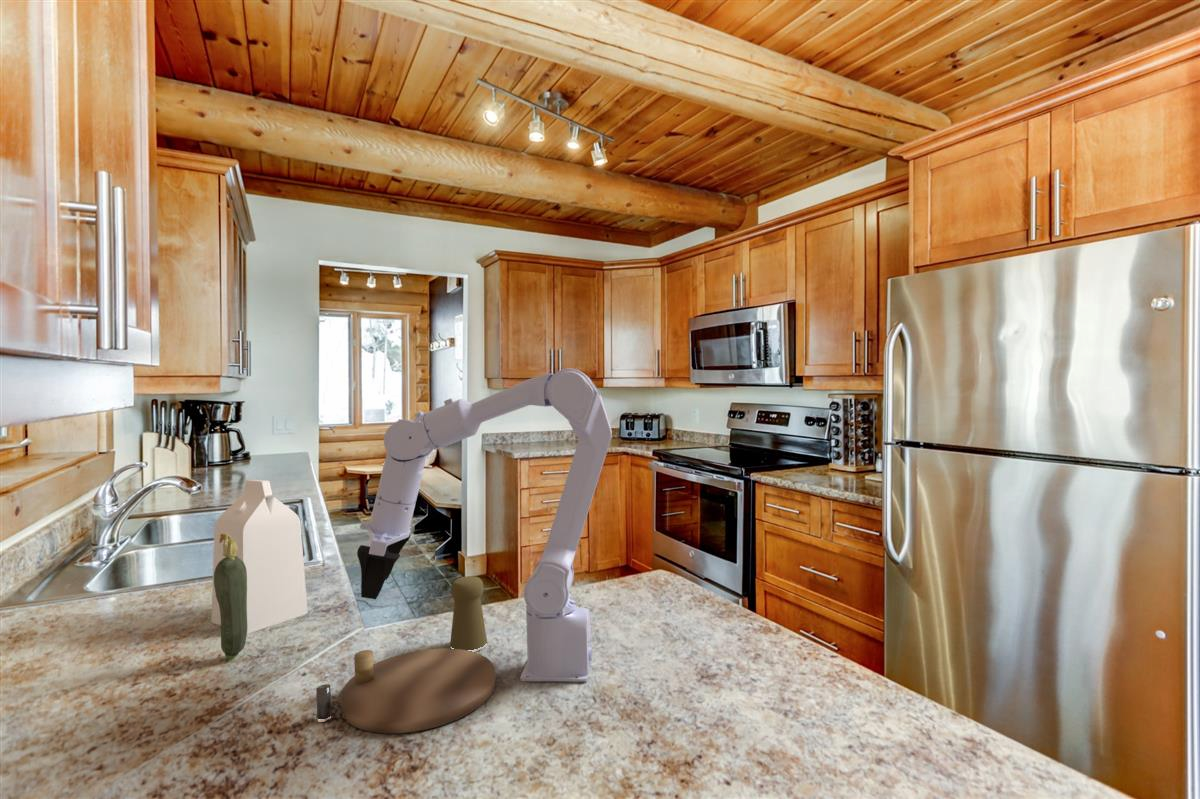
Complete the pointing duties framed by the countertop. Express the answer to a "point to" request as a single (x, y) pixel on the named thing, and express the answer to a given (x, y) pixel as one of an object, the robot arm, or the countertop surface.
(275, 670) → the countertop surface
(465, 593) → the olive pawn piece
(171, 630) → the countertop surface
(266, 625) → the milk
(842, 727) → the countertop surface
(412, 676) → the disc
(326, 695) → the dark gray cylinder
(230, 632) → the vegetable
